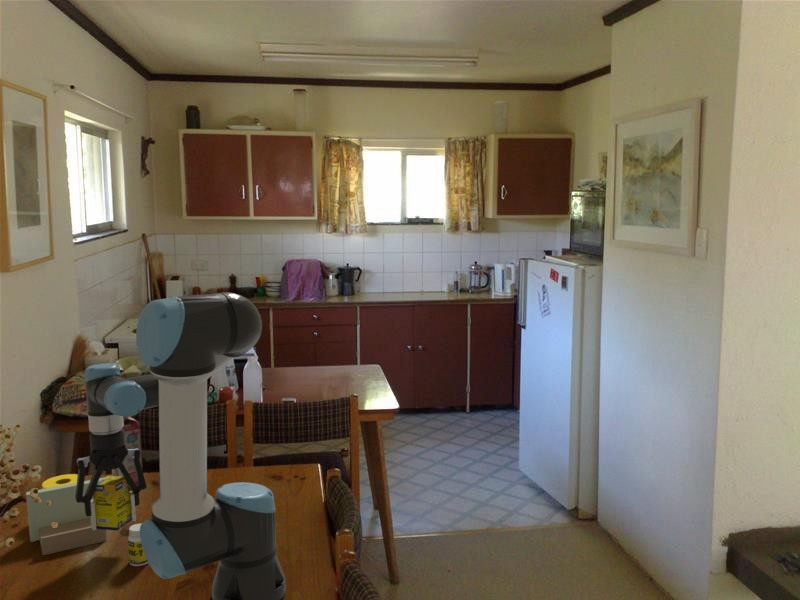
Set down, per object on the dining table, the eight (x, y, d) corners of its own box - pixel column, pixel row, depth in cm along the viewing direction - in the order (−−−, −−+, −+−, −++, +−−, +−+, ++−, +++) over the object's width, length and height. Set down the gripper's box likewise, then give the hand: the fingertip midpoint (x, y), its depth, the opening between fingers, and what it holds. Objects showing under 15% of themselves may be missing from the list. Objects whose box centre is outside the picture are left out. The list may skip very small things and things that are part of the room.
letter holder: (115, 538, 172) (112, 492, 171) (33, 557, 163) (29, 508, 162) (108, 521, 182) (105, 477, 180) (29, 538, 173) (26, 492, 171)
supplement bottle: (125, 566, 159) (122, 531, 158) (135, 556, 164) (133, 521, 163) (144, 567, 159) (142, 532, 157) (155, 557, 163) (153, 522, 162)
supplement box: (117, 531, 163) (114, 485, 162) (94, 529, 164) (91, 484, 163) (132, 520, 169) (129, 476, 167) (110, 518, 170) (107, 475, 169)
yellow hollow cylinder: (66, 505, 192) (63, 472, 191) (94, 510, 189) (92, 476, 187) (35, 520, 183) (33, 485, 182) (65, 526, 179) (63, 491, 178)
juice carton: (135, 477, 211) (131, 406, 209) (143, 484, 206) (139, 411, 203) (112, 483, 207) (108, 410, 204) (120, 489, 202) (115, 415, 199)
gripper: (150, 419, 172) (156, 508, 175) (55, 434, 162) (63, 528, 164) (156, 426, 166) (162, 518, 168) (58, 442, 155) (67, 540, 158)
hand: (113, 523), depth 166 cm, fingers closed on supplement box, 8 cm apart
